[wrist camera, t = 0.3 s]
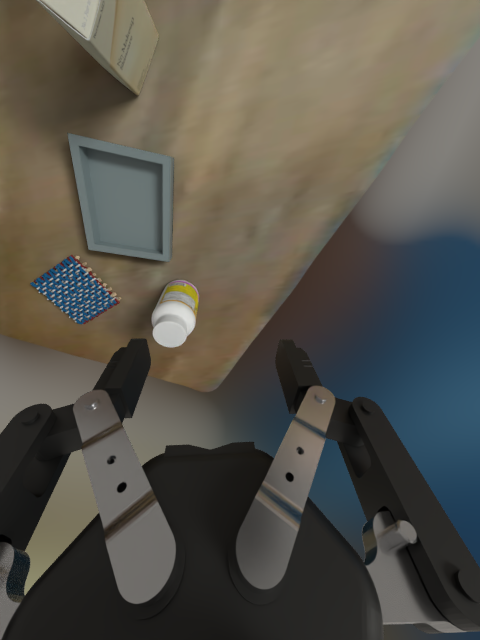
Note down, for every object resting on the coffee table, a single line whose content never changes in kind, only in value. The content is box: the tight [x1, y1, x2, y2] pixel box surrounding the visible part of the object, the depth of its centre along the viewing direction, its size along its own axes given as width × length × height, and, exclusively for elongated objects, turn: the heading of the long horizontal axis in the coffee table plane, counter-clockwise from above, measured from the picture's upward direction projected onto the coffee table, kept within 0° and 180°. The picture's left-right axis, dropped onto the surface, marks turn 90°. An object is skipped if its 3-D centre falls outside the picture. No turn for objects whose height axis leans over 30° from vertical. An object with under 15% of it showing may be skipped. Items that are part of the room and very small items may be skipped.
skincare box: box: [36, 0, 159, 96], centre depth 20 cm, size 6×4×12 cm
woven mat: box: [30, 255, 122, 324], centre depth 39 cm, size 10×11×2 cm
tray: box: [67, 133, 174, 262], centre depth 32 cm, size 14×12×2 cm
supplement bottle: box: [151, 280, 199, 347], centre depth 36 cm, size 7×7×13 cm
